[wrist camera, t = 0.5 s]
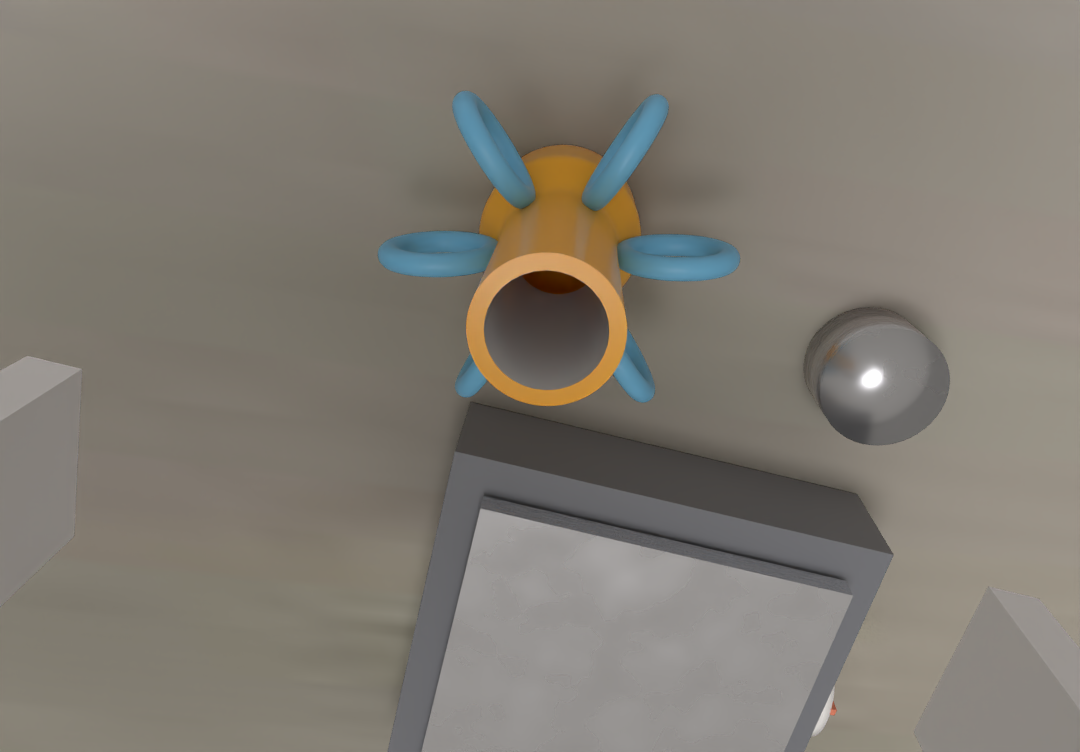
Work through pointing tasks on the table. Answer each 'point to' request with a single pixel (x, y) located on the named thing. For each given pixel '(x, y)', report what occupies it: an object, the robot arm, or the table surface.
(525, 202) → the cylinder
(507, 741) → the pan
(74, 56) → the table surface
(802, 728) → the base
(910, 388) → the cylinder
